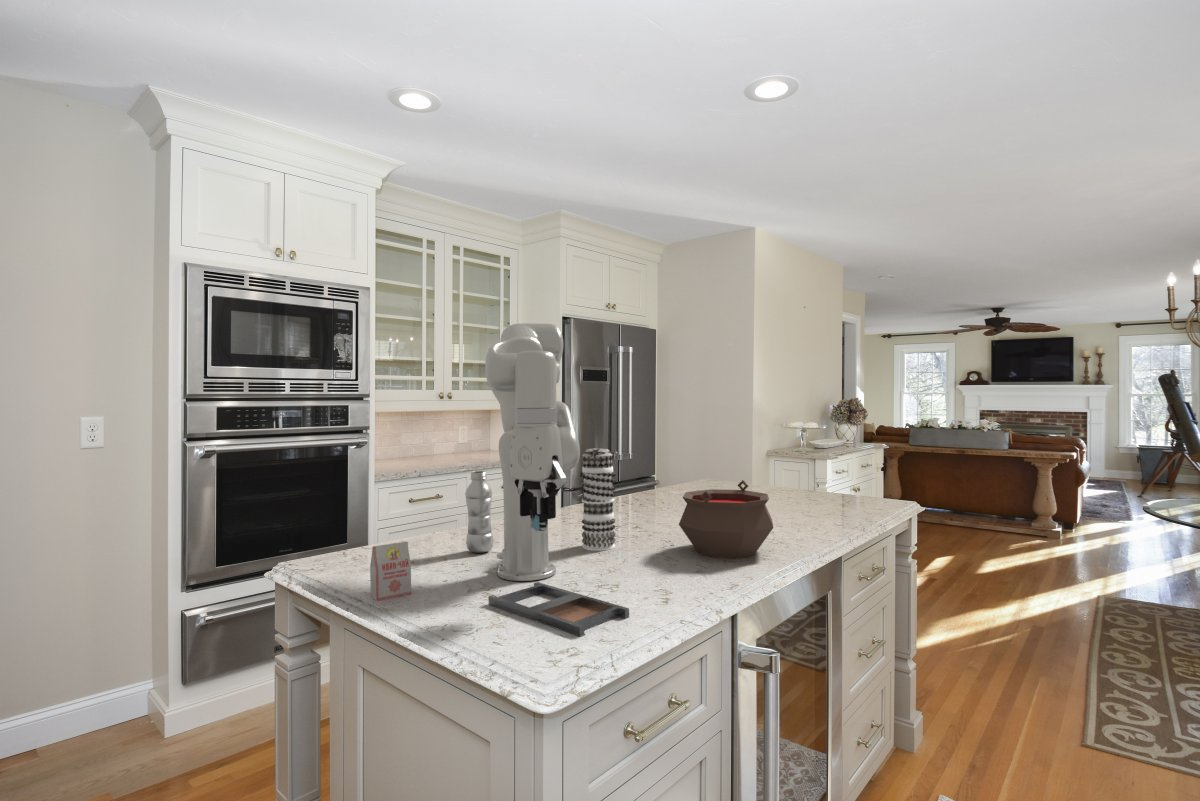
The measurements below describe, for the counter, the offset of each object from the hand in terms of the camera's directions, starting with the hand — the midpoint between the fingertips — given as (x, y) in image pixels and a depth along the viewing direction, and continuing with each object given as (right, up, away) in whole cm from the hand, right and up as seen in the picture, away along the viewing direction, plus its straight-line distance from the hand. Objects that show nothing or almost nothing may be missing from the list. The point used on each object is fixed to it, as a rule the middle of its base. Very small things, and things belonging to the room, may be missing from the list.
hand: (537, 516), depth 116 cm
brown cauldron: (+42, -16, +39) cm, 60 cm away
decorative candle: (+11, -16, +45) cm, 49 cm away
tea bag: (-30, -17, +8) cm, 35 cm away
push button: (0, -3, 0) cm, 3 cm away
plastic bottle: (-18, -17, +41) cm, 48 cm away
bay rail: (+4, -16, -3) cm, 17 cm away
